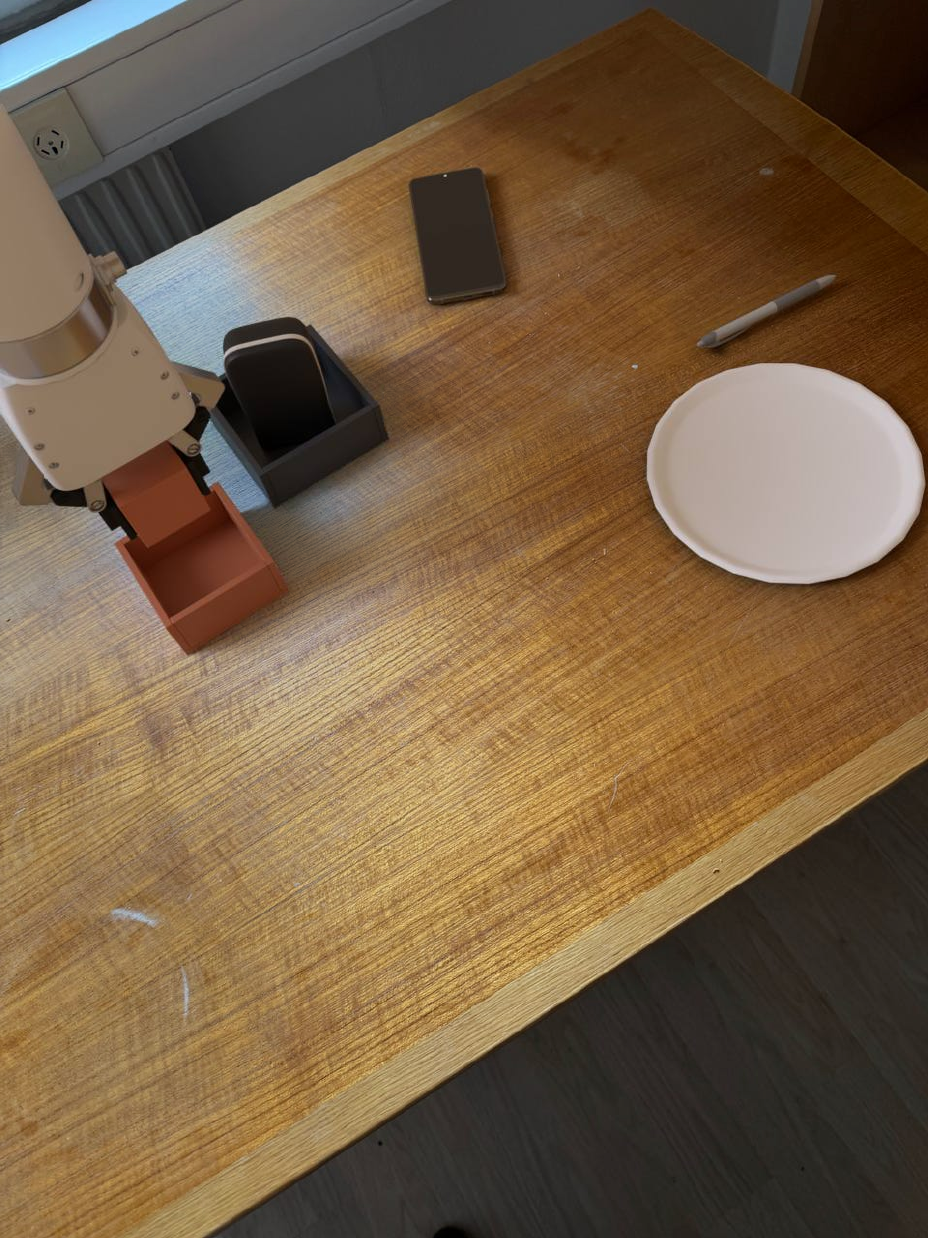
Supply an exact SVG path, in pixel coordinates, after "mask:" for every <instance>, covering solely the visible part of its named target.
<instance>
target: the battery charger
mask: <svg viewBox="0 0 928 1238" xmlns="http://www.w3.org/2000/svg"><path fill="white" fill-rule="evenodd" d="M306 326H307V325H305V323H304V322H303V321H301V320H300V319H299V318H297V317H294V316H283V317H277V318H272V319H268V320H267V319H266V320H263V321H258V322H254V323H249V324H245V325H242V326H238V327H235V328H232V329H230V330H229V331H227V333H226V334H225V335H224V337H223V342H222V352H223V353H222V354H223V357H222V364H223V369H224V373H225V372H226V375H227V377H228V380H229V382H230V385H231V387H232V389H233V391H234V393H235V396H236V398H237V400H238V402H239V404H240V406H241V407H242V409H243V411H244V413H245V415H246V417H247V419H248V420H249V422H250V424H251V426H252V428H253V430H254V432H255V434H256V437H257V439H258V442H259V444H260V447H261V448H262V449H264V450H265V449H270V448H276V447H281V446H286V445H291V444H296V443H300V442H305V441H309V440H311V439H312V438H314V437H316V436H317V435H319V434H321V433H322V432H324V431H326V430H327V429H329V428H331V427H332V426H334V425H336V424H337V421H336V419H335V416H334V413H333V411H332V408H331V405H330V402H329V399H328V395H327V390H326V386H325V383H324V379H323V375H322V372H321V369H320V363H319V360H318V357H317V354H316V350H315V347H314V345H313V342H312V339H311V337H310V334H309V332H308V329H307V328H306Z"/></svg>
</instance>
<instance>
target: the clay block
mask: <svg viewBox="0 0 928 1238" xmlns="http://www.w3.org/2000/svg"><path fill="white" fill-rule="evenodd" d="M101 478H102V482H103V483H104V485H105V487H106V488H107V490H108V491H109V493H110V495H111V496H112V498H113V499H114V501H115V502H116V504H117V506H118V507H119V509H120V510H121V511H122V513H123V514H124V516H125V517H126V518H127V520H128V521H129V523H130V524H131V525H132V527H133V528H134V529H135V531H136V532H137V534H138V535H139V536H140V538H141V539H142V541H143V542H144V543H145V545H146V546H147V547H148V548H149V547H151V546H152V545H154V544H156V543H157V542H159V541H161V540H162V539H164V538H166V537H167V536H169V535H171V534H172V533H174V532H176V531H177V530H179V529H181V528H182V527H184V526H186V525H187V524H189V523H191V522H192V521H194V520H196V519H197V518H199V517H201V516H202V515H204V514H206V513H207V512H209V511H210V510H211V509H210V507H209V505H208V504H207V502H206V500H205V498H204V497H203V495H202V493H201V492H200V490H199V488H198V486H197V485H196V483H195V481H194V480H193V478H192V476H191V474H190V473H189V471H188V469H187V468H186V466H185V465H184V463H183V462H182V460H181V459H180V457H179V456H178V454H177V453H176V452H175V450H174V449H173V447H172V446H171V444H170V443H169V442H168V441H167V440H165V441H163V442H162V443H160V444H159V445H157V446H155V447H153V448H152V449H150V450H148V451H147V452H145V453H143V454H142V455H140V456H138V457H136V458H135V459H133V460H131V461H130V462H128V463H126V464H124V465H123V466H121V467H119V468H117V469H116V470H114V471H112V472H110V473H109V474H107V475H105V476H103V477H101Z"/></svg>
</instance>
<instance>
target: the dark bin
mask: <svg viewBox="0 0 928 1238" xmlns="http://www.w3.org/2000/svg"><path fill="white" fill-rule="evenodd" d="M305 326H306V328H307V329H308V332H309V334H310V337H311V339H312V342H313V345H314V347H315V350H316V354H317V357H318V360H319V363H320V369H321V372H322V375H323V379H324V383H325V386H326V390H327V395H328V399H329V402H330V405H331V408H332V411H333V413H334V416H335V419H336V421H337V424H336V425H334V426H332V427H331V428H329V429H327V430H326V431H324V432H322V433H321V434H319V435H317V436H316V437H314V438H312V439H311V440H309V441H305V442H300V443H296V444H291V445H286V446H281V447H276V448H270V449H265V450H264V449H262V448H261V447H260V444H259V442H258V439H257V437H256V434H255V432H254V430H253V428H252V426H251V424H250V422H249V420H248V419H247V417H246V415H245V413H244V411H243V409H242V407H241V406H240V404H239V402H238V400H237V398H236V396H235V393H234V391H233V389H232V387H231V385H230V382H229V380H228V377H227V375H226V372H225V371H224V372H223V373H222V374H220V375H219V376H218V375H217V376H218V377H219V379H220V380H221V381H222V383H223V384H224V386H225V390H224V392H223V394H222V395H221V397H220V399H219V400H218V402H217V404H216V405H215V407H214V409H211V411H210V415H211V417H210V420H209V421H210V422H211V424H212V426H213V427H214V428H215V430H216V431H217V432H218V434H219V435H220V436H221V438H222V439H223V440H224V442H225V443H226V444H227V446H228V447H229V449H230V450H231V451H232V453H233V454H234V455H235V457H236V459H238V461H239V463H240V464H241V465H242V466H243V468H244V469H245V471H246V472H247V474H248V475H249V476H250V477H251V479H252V480H253V481H254V483H255V484H256V486H257V487H258V488H259V490H260V491H261V493H262V494H263V495H264V497H265V498H266V499H267V502H269V504H270V505H271V506H272V508H273V509H277V508H279V507H280V506H281V505H283V504H285V503H286V502H288V501H291V499H293V498H295V497H297V496H298V495H300V494H301V493H303V492H306V490H308V489H310V488H311V487H313V486H314V485H316V484H318V483H320V482H322V481H323V480H325V479H326V478H328V477H329V476H332V475H333V474H335V473H337V472H338V471H340V470H342V469H343V468H344V467H346V466H348V465H349V464H351V463H352V462H354V461H356V460H358V459H359V458H361V457H362V456H364V455H366V454H367V453H369V452H371V451H373V450H374V449H376V448H377V447H379V446H381V445H382V444H384V443H386V442H387V441H389V440H390V438H389V434H388V430H387V427H386V423H385V420H384V415H383V413H382V408H381V404H380V403H379V402H378V401H377V400H376V399H375V398H374V397H373V395H372V394H371V393H370V392H369V390H367V388H366V387H365V386H364V384H362V382H360V380H359V378H358V377H357V376H356V375H355V374H354V373H353V372H352V371H351V369H349V367H348V366H347V365H346V364H345V363H344V361H343V360H342V359H341V358H340V357H339V355H338V354H337V353H336V352H335V351H334V349H332V347H331V346H330V345H329V343H327V341H326V340H325V339H324V338H323V336H321V334H320V333H319V332H318V330H316V329H315V327H314V325H312V324H311V323H309V324H308V325H305Z"/></svg>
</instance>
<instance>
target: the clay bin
mask: <svg viewBox="0 0 928 1238" xmlns="http://www.w3.org/2000/svg"><path fill="white" fill-rule="evenodd" d="M208 487H209V489H210V491H211V494H209V495H207V496H206V497H205V496H204V495H203V497H204V498H205V500H206V502H207V504H208V505H209V507H210V509H211V510H210V511H209V512H207V513H206V514H204V515H202V516H201V517H199V518H197V519H196V520H194V521H192V522H191V523H189V524H187V525H186V526H184V527H182V528H181V529H179V530H177V531H176V532H174V533H172V534H171V535H169V536H167V537H166V538H164V539H162V540H161V541H159V542H157V543H156V544H154V545H152V546H151V547H149V548H148V547H147V546H146V545H145V543H144V542H143V541H142V539H141V538H140V536H139V535H137V538H135V539H134V540H132V541H131V540H130V539H129V537H128V536H127V535H125V536H123V537H121V539H118V540H117V541H115V542H114V543H113V545H114V547H115V548H116V549H117V551H118V553H119V554H120V556H121V558H122V559H123V561H124V563H125V564H126V567H128V569H129V571H130V572H131V574H132V576H133V577H134V579H135V580H136V582H137V584H138V586H139V587H140V589H141V591H142V592H143V594H144V596H145V597H146V599H147V600H148V602H149V604H150V606H151V607H152V608H153V610H154V612H155V614H156V615H157V617H158V619H159V620H160V621H161V623H162V625H163V627H164V628H165V630H166V631H167V633H169V635H170V636H171V637H172V638H173V640H174V641H175V643H177V645H178V646H179V647H180V649H181V650H182V651H183V652H184V654H185V655H189V654H191V653H192V652H193V651H195V650H197V649H199V648H200V647H202V646H203V645H205V644H207V643H208V642H210V641H213V639H216V638H217V637H219V636H220V635H221V634H223V633H225V632H226V631H228V630H230V629H231V628H233V627H234V626H236V625H237V624H239V623H241V622H242V621H244V620H245V619H247V618H249V617H250V616H252V615H254V614H255V613H256V612H258V611H259V610H261V609H263V608H264V607H266V606H268V605H270V604H271V603H273V602H274V601H276V600H278V599H279V598H281V597H282V596H283V595H285V594H287V593H289V592H290V589H289V587H288V584H287V583H286V581H285V579H284V578H283V574H282V573H281V571H280V569H279V567H278V565H277V564H276V562H275V560H274V558H273V557H272V556H271V554H270V553H269V551H268V550H267V549H266V547H265V546H264V544H263V543H262V542H261V540H260V539H259V537H258V535H256V533H255V531H254V530H253V529H252V528H251V526H250V524H249V523H248V522H247V520H246V519H245V518H244V516H243V514H242V513H241V512H240V511H239V509H238V507H237V506H236V504H235V503H234V502H233V501H232V499H231V497H230V496H229V495H228V493H227V492H226V490H225V489H224V488H223V486H222V484H221V483H220V482H219V481H216V482H215V483H213V484H211V485H210V486H209V485H208Z"/></svg>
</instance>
